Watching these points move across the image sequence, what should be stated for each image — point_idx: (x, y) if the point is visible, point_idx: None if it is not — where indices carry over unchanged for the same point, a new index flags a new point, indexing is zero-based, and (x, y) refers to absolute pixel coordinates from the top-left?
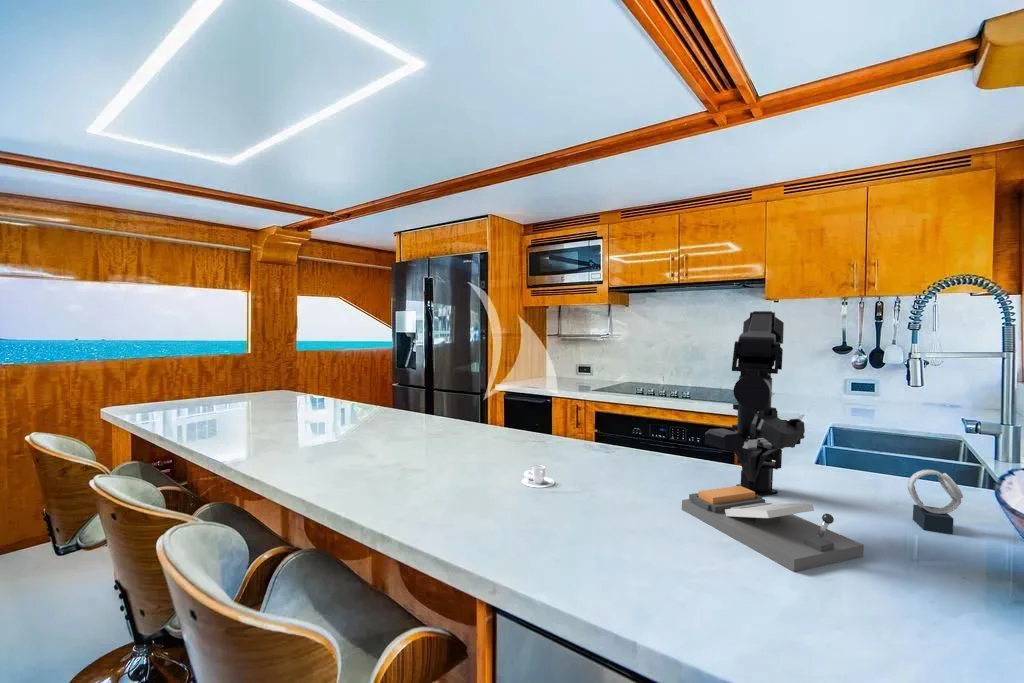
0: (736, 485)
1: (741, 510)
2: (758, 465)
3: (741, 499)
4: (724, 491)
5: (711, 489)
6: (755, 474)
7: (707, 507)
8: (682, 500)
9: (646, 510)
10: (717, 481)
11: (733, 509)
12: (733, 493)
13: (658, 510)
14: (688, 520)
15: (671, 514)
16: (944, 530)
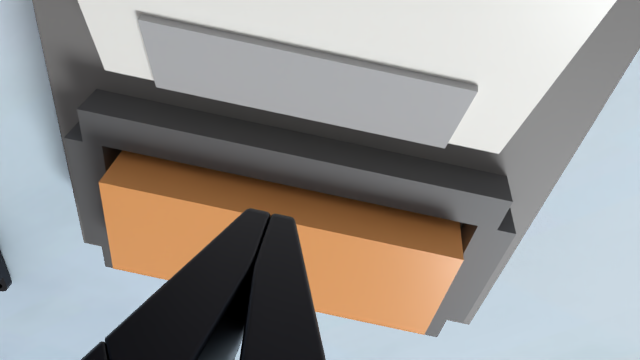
0: (7, 287)
1: (585, 39)
2: (179, 356)
3: (230, 182)
4: None
5: (334, 313)
6: (243, 259)
7: (512, 224)
8: (470, 321)
9: (609, 342)
10: (49, 335)
11: (509, 111)
12: None
13: (565, 322)
14: (573, 217)
15: (564, 282)
16: None
